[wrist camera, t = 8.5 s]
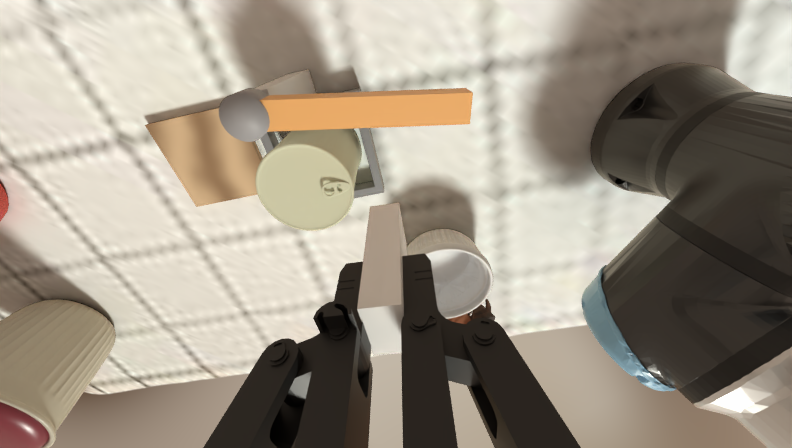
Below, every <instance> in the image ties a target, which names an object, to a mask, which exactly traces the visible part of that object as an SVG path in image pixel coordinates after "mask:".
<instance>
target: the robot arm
mask: <svg viewBox="0 0 792 448" xmlns="http://www.w3.org/2000/svg"><path fill="white" fill-rule="evenodd" d="M591 157H592V162H593V165H594V167H595V169H596V171H597V172H598V173H599V174H600V175H601V176H602V177H603V178H604V179H606V180H607V181H609V182H610V183H612V184H613V185H615V186H617V187H619V188H621V189H624V190H627V191H632V192H638V193H643V194H649V195H655V196H661V197H666V198H667V199H669V200H671V201H670V202H669V203H668V204H667V206H666V207H665V208H664V209H663V210H662V211H661V212H660V213H659V214H658V215H657V216H656V217H655V218H654V219H653V220H652V221H651V222H650V223H649V224H648V225H647V226H646V227H645V228H644V229H643V230H642V231H641V232H640V233H639V234H638V235H637V236H636V237H635V238H634V239H633V240H632V241H631V242H630V243H629V244H628V245H627V246H626V247H625V248H624V249H623V250H622V251H621V252H620V253H619V254H618V255H617V256H616V257H615V258H614V259H613V260H612V261H611V262H610V263H609V264H608V265H605V266H604V267H602V268H601V269H600V271H599V273H598V276H597V277H596V278H595V279H594V280H593V281H592V282H591V284H590V285H589V286H588V287H587V288H586V289H585V291H584V293H583V296H582V308H583V314H584V317H585V320H586V322H587V324H588V326H589V328H590V330H591V331H592V333H593V335H594V336H595V338H596V339H597V340H598V342H599V343H600V345H601V346H602V347H603V348H604V350H605V351H606V352H607V353H608V354H609V355H610V357H611V358H612V359H613V360H614V361H615V362H616V363H617V364H618V365H619V366H620V367H621V368H623V369H624V370H625V371H626V372H627V373H628V374H629V375H631V376H636V377H637V378H638V380H639V381H640V382H641V383H642V384H644V385H645V386H647V387H649V388H651V389H654V390H659V391H673V390H676V389H677V390H679V391H680V392H681V393H682V394H683V395H684V396H685V397H686V398H687V399H688V400H689V401H690V402H691V403H693V404H694V405H695V406H696V407H697V408H701V409H705V410H709V411H714V412H717V413H722V414H726V415H728V416H730V417H732V418H734V419H736V420H737V421H738V422H739V423H740V424H742V425H743V426H744V427H745V428H746V429H747V430H748V431H749V432H750V433H751V434H753V435H754V436H755V437H756V438H757V439H758V440H759V441H760V442H762V443H763V444H764V445H765V446H766V447H767V448H792V97H787V96H780V95H772V94H765V93H759V92H755V91H753V90H751V89H750V88H748V87H747V86H745V85H744V84H742V83H740V82H739V81H737V80H736V79H734V78H732V77H731V76H729V75H728V74H726V73H725V72H723V71H722V70H720V69H717V68H715V67H712V66H708V65H702V64H691V63H675V64H669V65H665V66H662V67H659V68H657V69H654V70H652V71H650V72H648V73H646V74H644V75H642V76H641V77H639V78H637V79H636V80H634V81H633V82H632V83H630V84H629V85H628V86H627V87H625V88H624V89H623V90H622V91H621V92H620V93H619V94H618V95H617V96H616V97H615V98H614V99H613V100H612V102H611V103H610V104H609V105H608V107H607V108H606V110H605V111H604V113H603V114H602V116H601V118H600V120H599V122H598V124H597V126H596V128H595V131H594V134H593V138H592V143H591ZM313 319H314V321H315V323H316V325H317V327H318V329H319V331H320V333H319V334H318V335H317V336H315V337H313V338H311V339H308V340H306V341H303V342H301V343H298V344H296V342H295V341H294V340H291V339H281V340H278V341H276V342H274V343H272V344H271V345H270V346H268V347H267V348H266V350H265V351H264V352H263V353H262V355H261V356H260V358H259V359H258V361H257V363H256V364H255V366H254V368H253V369H252V371H251V372H250V374H249V376H248V377H247V379H246V380H245V382H244V384H243V385H242V387H241V388H240V390H239V392H238V393H237V395H236V396H235V398H234V400H233V401H232V403H231V404H230V406H229V408H228V409H227V411H226V413H225V414H224V416H223V417H222V419H221V421H220V422H219V424H218V425H217V427H216V429H215V430H214V432H213V433H212V435H211V436H210V438H209V440H208V441H207V443H206V444H205V446H204V448H368V440H369V439H368V438H369V423H370V406H371V390H372V373H373V370H372V364H371V361H370V354H371V350H372V353H373V356H374V355H384V354H395V353H402V410H403V448H458V447H457V439H456V432H455V425H454V418H453V411H452V404H451V397H450V391H449V384H448V380H449V381H452V382H456V383H460V384H464V385H467V387H468V389H469V391H470V393H471V396H472V398H473V400H474V402H475V404H476V407H477V409H478V411H479V413H480V416H481V418H482V420H483V423H484V425H485V427H486V429H487V432H488V434H489V436H490V438H491V440H492V443H493V445H494V447H495V448H581V447H580V446H579V444H578V443H577V441H576V440H575V438H574V437H573V435H572V434H571V432H570V431H569V429H568V427H567V426H566V424H565V423H564V421H563V420H562V418H561V417H560V415H559V414H558V412H557V410H556V409H555V407H554V406H553V404H552V403H551V401H550V400H549V398H548V397H547V395H546V394H545V392H544V391H543V389H542V388H541V386H540V384H539V383H538V381H537V380H536V378H535V377H534V375H533V374H532V372H531V371H530V369H529V368H528V366H527V364H526V363H525V361H524V360H523V359H522V357H521V355H520V354H519V352H518V351H517V349H516V348H515V346H514V344H513V343H512V341H511V340H510V339H509V337H508V335H507V334H506V332H505V331H504V329H503V328H502V327H501V326H500V325H499V324H498V323H497V322H495V321H493V320H491V319H488V318H475V319H473V320H471V321H469V322H468V323H467V324H461V323H456V322H453V321H450V320H448V319H446V318H445V317H444V316H443V315H441V313H440V312H439V310H438V307H437V301H436V294H435V287H434V280H433V273H432V266H431V260H430V259H429V258H428V257H427V255H426V254H425V253H423V254H415V255H407V244H406V239H405V233H404V227H403V222H402V216H401V211H400V205H399V203H393V204H386V205H379V206H371V207H370V212H369V220H368V227H367V235H366V243H365V251H364V259H363V262H356V263H348V264H346V265H345V266H344V268H343V269H342V270H341V272H340V275H339V280H338V285H337V291H336V294H335V299H334V301H333V302H329V303H327V304H325V305H323V306H322V307H321V308H320V309H319V310H318V311H317V312H316V314H315V316H314V318H313Z"/></svg>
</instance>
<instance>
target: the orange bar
mask: <svg viewBox="0 0 792 448" xmlns="http://www.w3.org/2000/svg"><path fill="white" fill-rule="evenodd" d="M472 96H473V93H472V92H471V91H469V90H468V89H466V88H456V89H429V90H401V91H373V92H346V93H318V94H290V95H268V94H267V93H265V92H264V91H262V90H259V89H255V88H248V89H245V90H242V91H240V92H237V93H234V94H232V95H230V96H227V97H226V98H225V99H224V100H223V101H222V102H221V104H220V107H219V118H220V121H221V124H222V125H223V127H224V129H225V130H226V131H227V132H228V133H229V134H230V135H231V136H233V137H234V138H236V139H238V140H241V141H245V142H253V141H256V140H258V139H260V138H261V137H262V136H264V135H265V134H266V133H267V132H273V131H299V130H325V129H352V128H378V127H404V126H430V125H456V124H470V116H471V106H472Z"/></svg>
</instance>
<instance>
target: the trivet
mask: <svg viewBox="0 0 792 448" xmlns="http://www.w3.org/2000/svg"><path fill="white" fill-rule="evenodd" d="M145 126H146V128H147V129H148V131H149V132H150V134H151V135H152V137H153V139H154V140H155V142H156V143H157V145H158V147H159V148H160V150H161V151H162V153H163V154H164V156H165V158H166V159H167V161H168V162H169V164H170V166H171V167H172V169H173V170H174V172H175V173H176V175H177V177H178V178H179V180H180V181H181V183H182V184H183V186H184V188H185V189H186V191H187V192H188V194H189V196H190V197H191V199H192V200H193V202H194V203H195V205H196V207H198V206H203V205H208V204H213V203H218V202H223V201H227V200H232V199H237V198H242V197H247V196H252V195H257V190H256V183H255V178H256V172H257V168H258V166H259V164H260V162H261V160H262V156H261V154H260V152H259V150H258V148H257V145H256V143H255V141H253V142H245V141H241V140H238V139H236V138H234V137H233V136H231V135H230V134H229V133H228V132H227V131H226V130H225V129H224V127H223V125H222V124H221V121H220V118H219V108H215V109H211V110H206V111H202V112H198V113H193V114H189V115H185V116H180V117H176V118H171V119H167V120H163V121H158V122H154V123H150V124H147V125H145Z"/></svg>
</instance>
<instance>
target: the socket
mask: <svg viewBox="0 0 792 448" xmlns="http://www.w3.org/2000/svg"><path fill="white" fill-rule="evenodd" d="M255 89H259V90H262V91H264V92H265V93H267V94H268V95H290V94H315V93H316V91H315V87H314V84H313V81H312V78H311V75H310V72H309V69H308V70H303V71H299V72H295V73H291V74H287V75H285V76H282V77H280V78H277V79H275V80H273V81H270V82H268V83H265V84H263V85H261V86H258V87H256V88H255ZM346 92H361V89H360V88H357V89H352V90H348V91H343V92H339V93H346ZM360 132H361V136H362V140H363V143H364V147H365V151H366V155H367V159H368V162H369V166H370V170H371V174H372V178H373V181H371V182H366V183H361V184H356V185H355V187H354V198H358V197H363V196H368V195H373V194H378V193H383V192H384V183H383V179H382V175H381V171H380V167H379V163H378V158H377V154H376V150H375V146H374V142H373V138H372V134H371V130H370V128H360ZM261 141H262V143H263V145H264V148H265V150H266V152H267V153H269V152H270V151H271V150H273V149H274V148H275V147H276V146H277V145H278V144H279V143H278V141H277V138H276V136H275V133H274V131H273V132H267V133H266V134H265V135H264V136H262V137H261Z"/></svg>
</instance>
